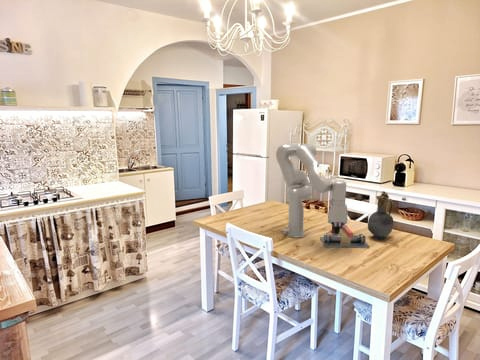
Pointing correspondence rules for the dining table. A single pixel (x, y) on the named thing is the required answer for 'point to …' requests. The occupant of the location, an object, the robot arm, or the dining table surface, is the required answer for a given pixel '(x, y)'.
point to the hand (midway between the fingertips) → (336, 232)
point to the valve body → (344, 241)
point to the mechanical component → (337, 224)
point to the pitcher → (381, 218)
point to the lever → (347, 231)
